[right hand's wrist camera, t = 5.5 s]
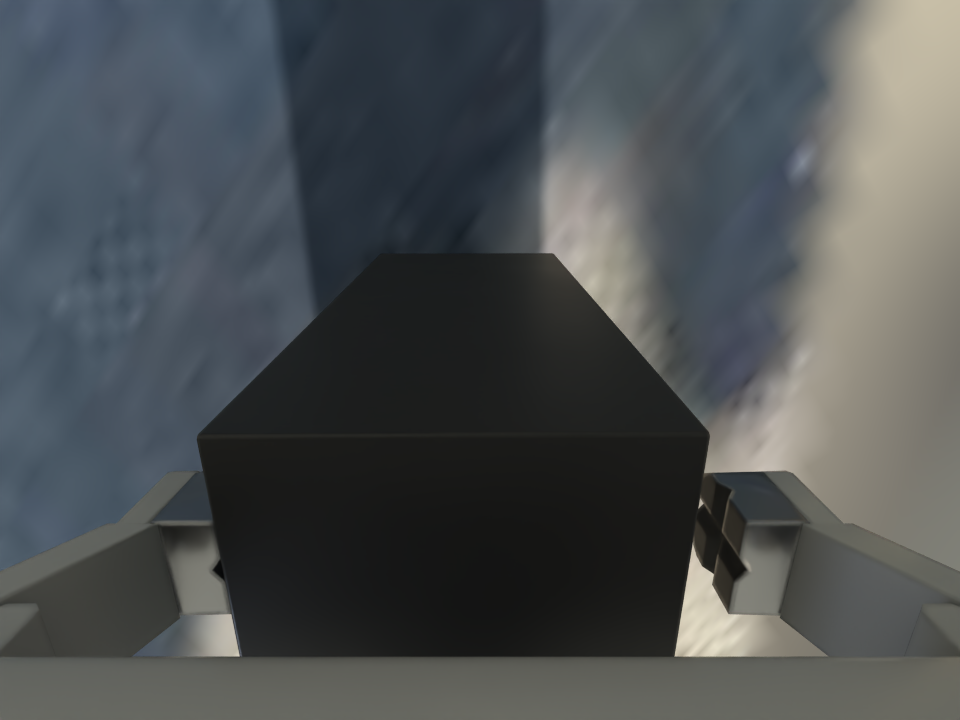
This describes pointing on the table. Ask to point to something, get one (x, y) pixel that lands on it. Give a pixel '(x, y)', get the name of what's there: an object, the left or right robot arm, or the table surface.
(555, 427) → the box
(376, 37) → the table surface
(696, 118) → the table surface
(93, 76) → the table surface
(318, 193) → the table surface
